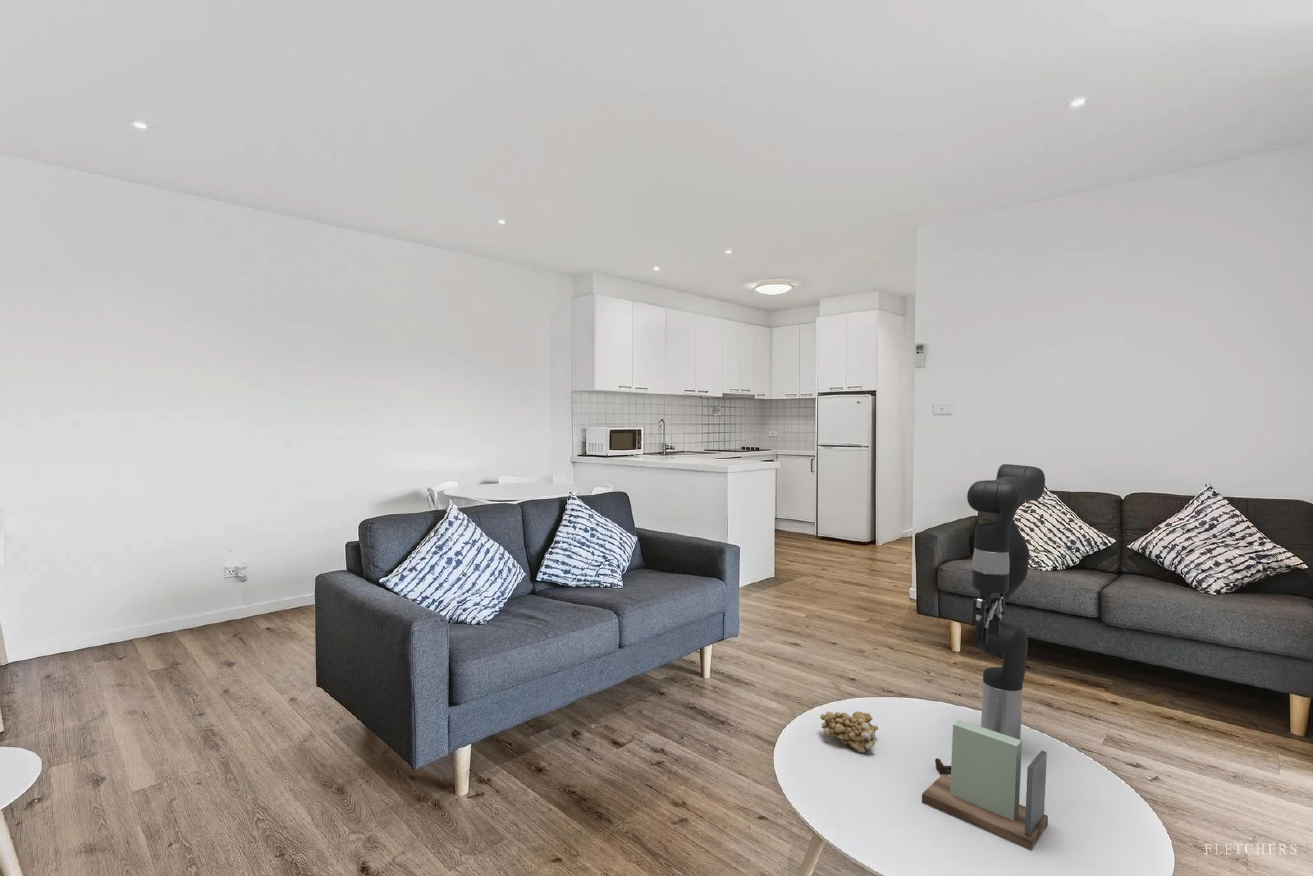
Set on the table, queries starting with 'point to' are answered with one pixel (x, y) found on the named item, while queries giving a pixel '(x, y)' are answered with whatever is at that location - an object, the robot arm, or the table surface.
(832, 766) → the table surface
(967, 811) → the walnut shelf board
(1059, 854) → the table surface
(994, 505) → the robot arm
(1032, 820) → the grey metal bookend
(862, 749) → the mineral formation
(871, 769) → the table surface
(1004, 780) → the sage book
